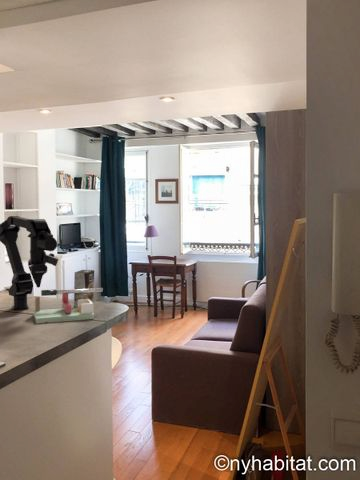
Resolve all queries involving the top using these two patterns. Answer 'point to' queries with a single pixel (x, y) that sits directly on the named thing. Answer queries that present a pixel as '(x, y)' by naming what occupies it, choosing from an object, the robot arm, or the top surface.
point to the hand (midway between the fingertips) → (37, 285)
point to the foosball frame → (60, 315)
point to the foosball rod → (65, 302)
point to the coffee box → (83, 285)
